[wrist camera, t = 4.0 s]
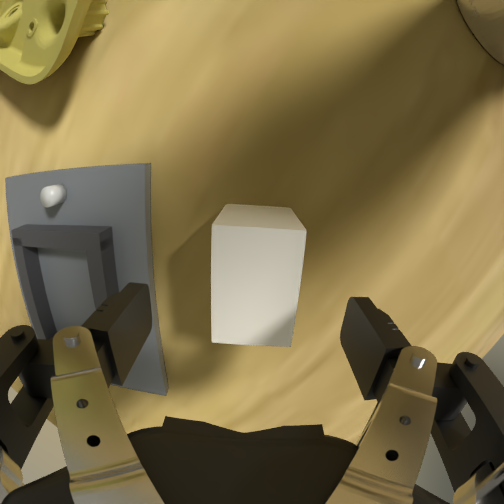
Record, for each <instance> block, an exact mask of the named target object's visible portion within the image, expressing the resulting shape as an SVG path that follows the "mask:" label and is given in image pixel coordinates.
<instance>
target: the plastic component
mask: <svg viewBox="0 0 504 504" xmlns="http://www.w3.org/2000/svg"><path fill="white" fill-rule="evenodd" d="M106 2H107V1H106V0H0V70H1V71H3V72H4V73H6V74H7V75H9V76H10V77H12V78H14V79H15V80H17V81H19V82H21V83H24V84H35V83H37V82H40V81H42V80H44V79H45V78H47V77H48V76H50V75H51V74H52V73H53V72H55V71H56V70H57V69H58V68H59V67H60V66H61V65H62V64H63V63H64V61H65V60H66V59H67V57H68V56H69V54H70V53H71V51H72V49H73V47H74V45H75V43H76V41H77V39H78V37H84V36H92V35H94V32H95V31H96V30H101V29H102V28H103V25H102V23H103V22H104V19H105V16H106V15H108V14H109V10H106V6H105V4H106Z"/></svg>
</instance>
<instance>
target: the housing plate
mask: <svg viewBox="0 0 504 504" xmlns="http://www.w3.org/2000/svg"><path fill="white" fill-rule="evenodd" d="M5 181H6V200H7V212H8V221H9V229H10V237H11V243H12V249H13V255H14V260H15V265H16V270H17V274H18V279H19V283H20V287H21V291H22V295H23V298H24V302H25V306H26V309H27V312H28V315H29V319H30V322H31V325H32V328H33V329H34V331H35V334H36V337H37V339H51V340H53V338H54V336H55V334H56V333H57V332H58V331H60V330H62V329H64V328H66V327H70V326H82V324H83V323H84V322H85V321H86V320H87V319H88V318H89V317H90V316H91V315H92V313H93V312H94V311H96V309H97V308H98V307H99V306H100V305H101V304H102V303H103V302H104V301H105V299H106V298H107V297H109V296H111V295H113V294H115V293H117V292H119V293H120V292H121V290H122V289H123V288H124V287H125V286H126V285H127V284H128V283H129V282H134V283H144V284H148V286H149V291H150V301H151V310H152V329H151V332H150V334H149V336H148V338H147V340H146V341H145V343H144V345H143V347H142V349H141V351H140V353H139V355H138V356H137V358H136V360H135V362H134V364H133V366H132V368H131V370H130V372H129V374H128V376H127V378H126V380H125V382H124V384H123V386H120V385H116V384H112V383H111V385H115V386H119V387H124V388H128V389H133V390H138V391H143V392H148V393H153V394H159V395H165V396H166V395H167V392H168V389H169V387H168V381H167V376H166V370H165V364H164V358H163V351H162V344H161V337H160V330H159V322H158V313H157V304H156V294H155V283H154V270H153V255H152V236H151V163H149V164H124V165H107V166H93V167H81V168H71V169H62V170H53V171H45V172H38V173H31V174H24V175H18V176H12V177H7V178H5Z"/></svg>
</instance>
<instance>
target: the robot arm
mask: <svg viewBox="0 0 504 504" xmlns="http://www.w3.org/2000/svg"><path fill="white" fill-rule="evenodd" d="M457 3H458V6H459V8H460V11H461V13H462V15H463V17H464V19H465V21H466V23H467V24H468V26H469V28H470V30H471V31H472V32H473V34H474V35H475V37H476V38H477V40H478V41H479V42H480V43H481V45H482V46H483V47H484V48H485V49H486V50H487V51H488V53H489V54H490V55H491V56H492V57H494V58H495V59H496V60H497V61H498V62H500V63H501V64H503V65H504V0H457ZM151 329H152V310H151V301H150V291H149V286H148V284H144V283H134V282H129V283H128V284H127V285H126V286H125V287H124V288H123V289H122V290H121V292H120V293H119V292H117V293H115V294H113V295H111V296H109V297H107V298H106V299H105V301H104V302H103V303H102V304H101V305H100V306H99V307H98V308H97V309H96V311H94V312H93V313H92V315H91V316H90V317H89V318H88V319H87V320H86V321H85V322H84V323H83V324H82V326H70V327H66V328H64V329H62V330H60V331H58V332H57V333H56V334H55V336H54V338H53V340H51V339H37V337H36V334H35V331H34V329H33V328H32V327H30V326H27V325H20V326H16V327H13V328H11V329H9V330H8V331H7V332H6V333H5V334H4V335H3V336H2V337H1V338H0V504H450V503H448V502H446V501H444V500H442V499H440V498H438V497H437V496H435V495H433V494H432V493H430V492H428V491H426V490H425V489H423V488H421V487H420V486H418V485H416V484H415V483H416V480H417V477H418V474H419V471H420V468H421V465H422V462H423V459H424V455H425V451H426V448H427V445H428V441H429V437H430V433H431V434H432V437H433V439H434V441H435V444H436V446H437V448H438V451H439V453H440V456H441V458H442V460H443V463H444V466H445V468H446V471H447V473H448V476H449V479H450V481H451V484H452V487H453V490H454V492H455V494H454V498H453V504H504V387H503V385H502V384H501V383H500V381H499V380H498V379H497V377H496V376H495V375H494V374H493V372H492V371H491V370H490V369H489V367H488V366H487V365H486V364H485V362H484V361H483V360H482V359H481V358H480V357H478V356H477V355H475V354H473V353H469V352H461V353H459V354H457V356H456V358H455V360H454V362H453V364H447V363H437V359H436V357H435V356H434V355H433V354H432V353H431V352H430V351H428V350H426V349H424V348H422V347H418V346H411V345H410V343H409V342H408V340H407V339H406V338H405V336H404V335H403V334H402V332H401V331H400V330H398V327H397V326H396V324H394V322H393V321H392V319H391V318H390V317H389V315H387V314H386V313H384V312H383V311H382V310H380V309H377V308H376V306H375V305H374V304H373V302H372V301H371V300H370V298H368V297H350V298H349V300H348V303H347V308H346V312H345V316H344V320H343V324H342V328H341V333H340V340H341V345H342V347H343V350H344V352H345V354H346V357H347V359H348V361H349V364H350V366H351V368H352V371H353V373H354V376H355V378H356V380H357V383H358V385H359V388H360V390H361V393H362V395H363V398H364V400H372V399H377V401H378V403H377V405H376V406H375V408H374V410H373V413H372V415H371V417H370V419H369V421H368V423H367V425H366V426H365V428H364V430H363V432H362V434H361V436H360V438H359V440H358V441H357V443H356V445H355V444H353V443H351V442H349V441H346V440H344V439H340V438H337V437H333V436H329V435H324V431H323V427H322V424H320V425H300V426H281V427H277V428H271V429H266V430H261V431H255V432H248V433H241V432H237V431H233V430H229V429H226V428H222V427H219V426H216V425H212V424H209V423H206V422H202V421H193V420H186V419H179V418H173V417H167V416H165V419H164V423H163V426H162V427H151V428H145V429H140V430H137V431H134V432H131V433H129V434H126V432H125V429H124V427H123V425H122V422H121V420H120V418H119V415H118V413H117V410H116V408H115V405H114V403H113V400H112V398H111V395H110V392H109V390H108V388H109V386H110V384H111V383H112V384H116V385H120V386H123V384H124V382H125V380H126V378H127V376H128V374H129V372H130V370H131V368H132V366H133V364H134V362H135V360H136V358H137V356H138V355H139V353H140V351H141V349H142V347H143V345H144V343H145V341H146V340H147V338H148V336H149V334H150V332H151ZM18 376H19V378H20V380H21V382H22V384H23V387H22V388H21V390H20V391H19V393H18V394H17V396H16V397H15V399H14V400H13V401H12V403H11V404H10V403H9V400H8V390H9V388H10V386H11V385H12V384H13V382H14V381H15V380H16V378H17V377H18ZM467 402H468V404H469V405H470V407H471V409H472V410H473V412H474V414H475V416H476V424H475V427H474V428H473V430H472V431H471V430H470V428H469V426H468V425H467V423H466V421H465V419H464V417H463V416H462V414H461V411H462V409H463V408H464V406H465V405H466V403H467ZM53 406H54V410H55V416H56V422H57V427H58V431H59V436H60V441H61V445H62V449H63V453H64V457H65V460H66V464H67V466H66V467H64V468H62V469H60V470H58V471H56V472H54V473H51V474H50V475H47V476H45V477H42V478H40V479H38V480H36V481H33V482H31V483H28V484H26V485H24V484H23V483H22V479H23V477H22V472H21V468H22V466H23V464H24V462H25V460H26V458H27V456H28V454H29V452H30V450H31V448H32V445H33V443H34V441H35V440H36V437H37V436H38V434H39V432H40V430H41V428H42V426H43V424H44V422H45V420H46V419H47V417H48V415H49V413H50V411H51V410H52V408H53Z"/></svg>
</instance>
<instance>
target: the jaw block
mask: <svg viewBox="0 0 504 504" xmlns="http://www.w3.org/2000/svg"><path fill="white" fill-rule="evenodd" d="M306 234H307V230H306V229H305V227H304V226H303V225H302V223H301V222H300V220H299V219H298V218H297V216H296V215H295V213H294V212H293V211H292V209H291V208H288V207H274V206H258V205H241V204H226V205H225V206H224V208H223V209H222V211H221V212H220V214H219V215H218V217H217V218H216V219H215V221H214V222H213V224H212V238H211V332H212V342H213V343H225V344H239V345H257V346H284V347H291V343H292V336H293V330H294V324H295V317H296V311H297V304H298V297H299V290H300V283H301V275H302V267H303V259H304V251H305V243H306Z"/></svg>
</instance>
